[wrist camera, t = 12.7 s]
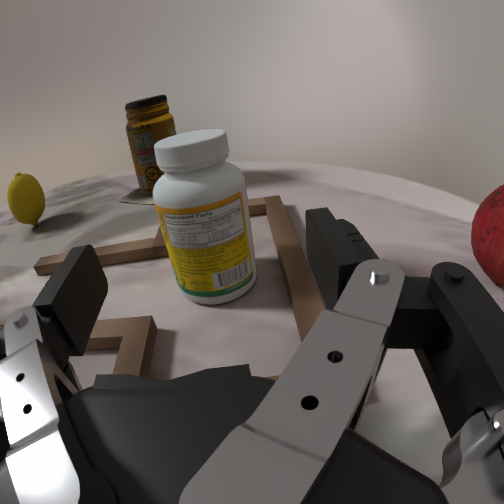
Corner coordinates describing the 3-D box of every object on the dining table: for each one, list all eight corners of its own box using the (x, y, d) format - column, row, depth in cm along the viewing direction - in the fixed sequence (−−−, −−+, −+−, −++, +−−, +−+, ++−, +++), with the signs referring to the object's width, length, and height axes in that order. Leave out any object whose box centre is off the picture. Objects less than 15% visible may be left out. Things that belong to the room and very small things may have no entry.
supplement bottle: (245, 311, 18) (218, 144, 13) (165, 302, 19) (121, 157, 14) (265, 259, 22) (249, 122, 17) (196, 256, 24) (169, 131, 19)
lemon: (49, 212, 39) (32, 163, 35) (55, 221, 36) (36, 166, 31) (18, 229, 36) (0, 179, 32) (21, 239, 32) (0, 184, 28)
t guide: (-32, 399, 12) (-41, 390, 11) (63, 240, 30) (60, 233, 29) (351, 401, 12) (354, 390, 12) (280, 204, 30) (279, 195, 29)
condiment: (199, 178, 40) (183, 90, 34) (157, 205, 34) (134, 102, 28) (158, 178, 43) (142, 98, 37) (117, 202, 37) (94, 113, 31)
